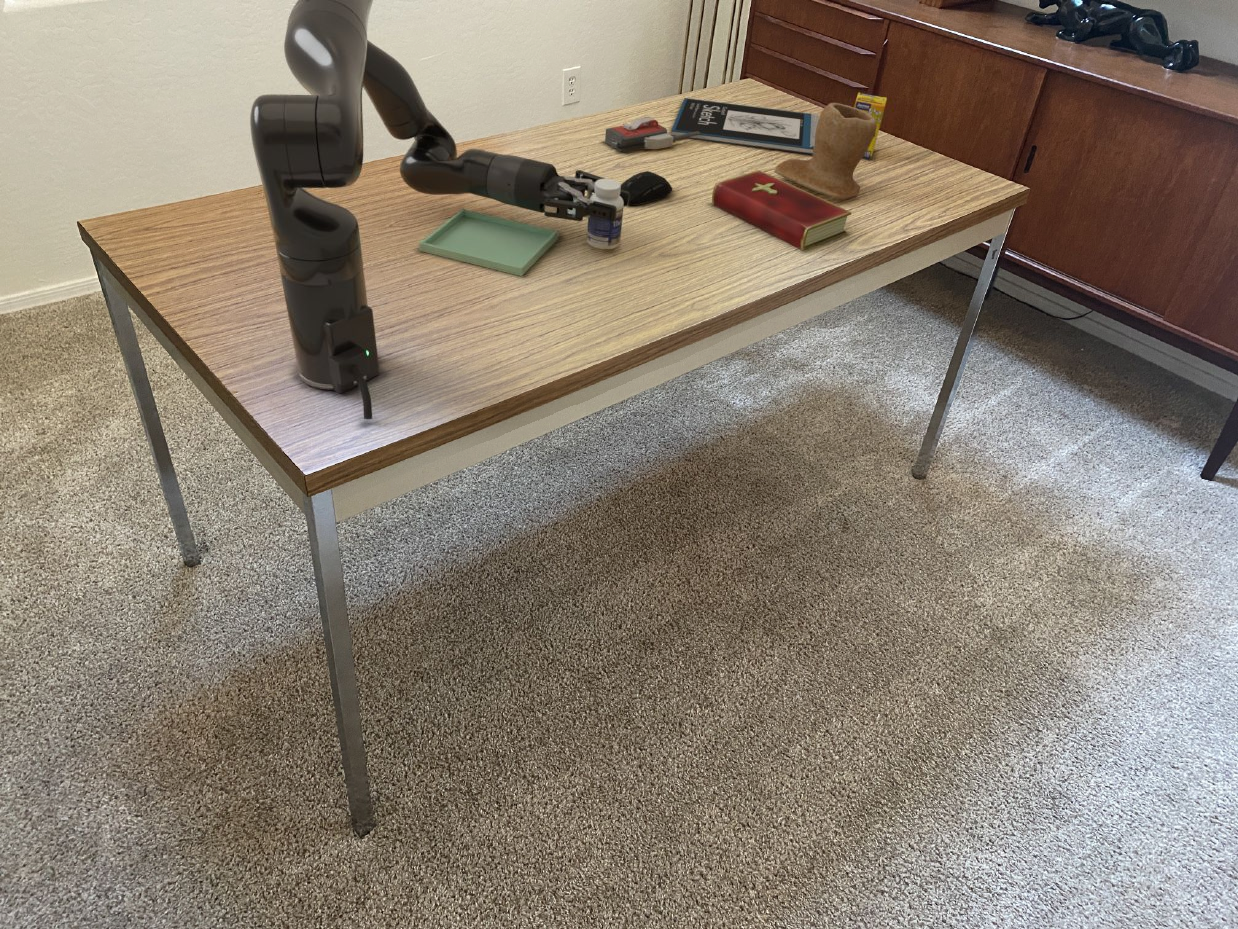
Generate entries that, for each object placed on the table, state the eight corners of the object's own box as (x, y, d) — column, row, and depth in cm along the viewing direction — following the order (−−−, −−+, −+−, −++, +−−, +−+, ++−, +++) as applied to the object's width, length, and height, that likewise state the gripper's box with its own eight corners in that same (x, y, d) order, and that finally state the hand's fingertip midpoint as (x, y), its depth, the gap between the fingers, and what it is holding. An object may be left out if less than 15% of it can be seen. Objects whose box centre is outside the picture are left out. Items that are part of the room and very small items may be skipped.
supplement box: (841, 155, 183) (854, 100, 176) (844, 145, 188) (857, 91, 181) (871, 160, 182) (885, 105, 175) (873, 150, 187) (887, 96, 180)
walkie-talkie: (624, 158, 173) (702, 141, 183) (626, 135, 170) (705, 119, 180) (597, 143, 178) (674, 127, 188) (599, 120, 175) (677, 106, 185)
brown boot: (872, 193, 169) (894, 112, 159) (835, 208, 162) (856, 125, 153) (808, 167, 177) (825, 88, 167) (770, 180, 170) (786, 99, 160)
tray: (558, 238, 145) (558, 230, 144) (521, 276, 134) (521, 268, 133) (462, 215, 148) (462, 208, 148) (419, 250, 138) (419, 242, 137)
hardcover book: (801, 251, 148) (807, 227, 145) (710, 205, 159) (714, 182, 157) (846, 233, 154) (852, 210, 152) (755, 190, 166) (759, 168, 163)
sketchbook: (683, 103, 201) (684, 94, 199) (817, 122, 198) (819, 112, 197) (670, 136, 184) (671, 125, 183) (816, 156, 182) (819, 146, 180)
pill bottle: (616, 252, 141) (621, 193, 134) (583, 246, 141) (586, 187, 135) (623, 237, 145) (628, 179, 138) (590, 232, 145) (594, 174, 139)
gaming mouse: (594, 200, 157) (595, 178, 154) (654, 182, 165) (656, 161, 163) (618, 213, 154) (620, 191, 151) (678, 194, 162) (681, 172, 159)
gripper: (502, 175, 134) (608, 200, 130) (540, 144, 145) (639, 166, 141) (502, 222, 139) (604, 247, 135) (539, 189, 149) (635, 211, 146)
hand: (621, 206), depth 138 cm, fingers closed on pill bottle, 5 cm apart
